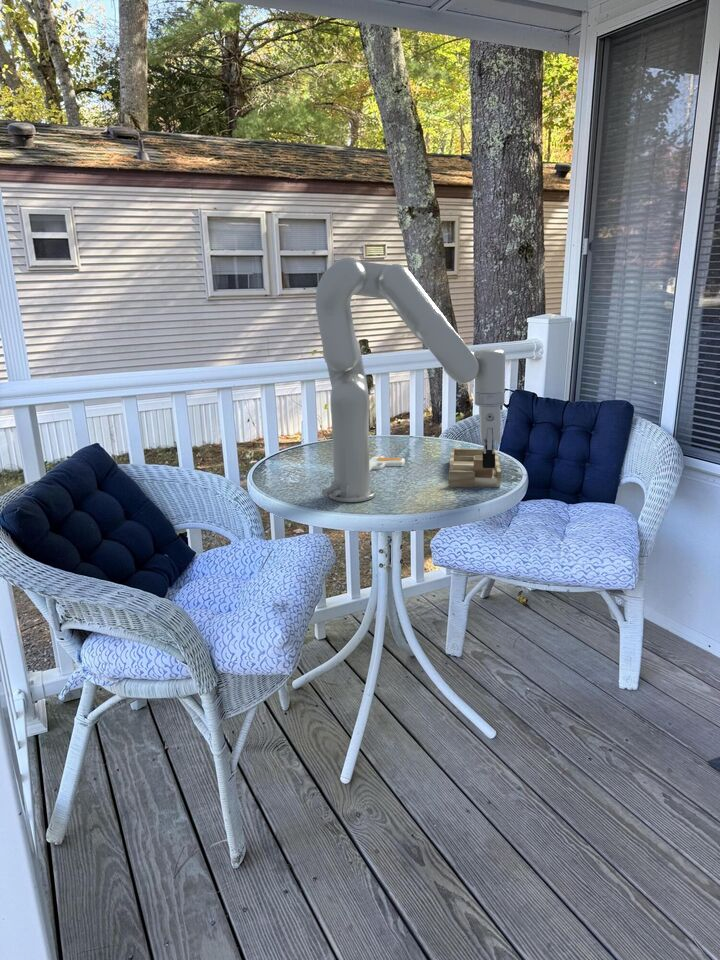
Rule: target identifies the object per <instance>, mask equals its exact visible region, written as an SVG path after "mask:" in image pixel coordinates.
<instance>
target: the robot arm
mask: <svg viewBox="0 0 720 960" xmlns="http://www.w3.org/2000/svg"><path fill="white" fill-rule="evenodd" d="M353 296H361V297H368V298H376V299H384V300H386V301H387V302H388V304H389V305H390V307H392V309H393V310H394V311H395V313H396V314H397V316H399V318H400V320H402V322H404V324H405V325H406V326H407V328H408V329H409V330H410V331H411V333H412V334H413V335H414V336H415V338H417V340H419V341H420V342H421V343H422V344H424V346H425V347H426V348H427V349H428V351H430V352H431V354H432V355H433V356H434V357H435V358H436V360H437V361H438V362H439V364H440V365H441V366H442V367H443V369H444V372H445V374H447V376H448V377H450V379H452V380H453V381H454V382H456V383H458V384H468V383H470V382H472V381H473V380H474V405H475V406H477V407H479V409H478V411H479V413H478V415H479V434H480V441H481V444H483V449H484V452H483V468H495V452H494V450H496V449H495V443H496V444H497V445H500V444H501V442H502V441H501V437H502V436H501V429H502V427H501V425H502V424H501V423H502V416H501V409H502V408H501V406H503V405H505V402H506V399H505V397H506V396H505V394H506V393H505V391H506V390H505V389H506V352H505V351H504V350H503V349H501V348H484V349H477V350H475V349H470V347H469V346H468V344H466V343H465V341H464V340H463V338H461V336H460V335H459V334H458V333H457V331H456V330H455V329H454V327H453V326H452V325H451V323H449V321H448V319H447V318H446V317H445V315H444V314H443V312H442V311H441V310H440V309H439V307H438V306H437V305H436V303H435V302H434V301H433V300H432V299H431V297H430V296H429V295H428V293H427V292H426V291H425V289H424V288H423V287H422V285H421V284H420V283H419V282H418V280H417V279H416V278H415V276H414V275H413V274H412V272H411V270H409V269H408V268H407V267H406V266H405V265H402V264H400V263H398V264H397V263H394V264H386V263H377V262H369V261H363V260H358V259H356V258H354V257H351V256H350V257H349V256H348V257H343V258H342V257H341V258H340V259H338V260H337V261H335V262H334V263H333V264H332V265H331V266H330V267H328V269H327V270H326V271H325V272H324V273H323V275H322V276H321V278H320V280H319V282H318V284H317V287H316V291H315V301H314V302H315V312H316V316H317V322H318V329H319V334H320V339H321V344H322V355H323V359H324V362H325V363H326V366H327V371H328V376H329V377H328V378H329V379H330V381H329V382H330V385H331V392H330V413H331V414H330V415H331V435H332V436H331V437H332V438H331V439H332V457H333V459H332V460H333V462H332V465H333V480H332V481H331V484H330V485H329V487H325V488H322V490H321V495H322V496H324V497H327V496H328V497H329V498H330V499H331V500H334V501H336V502H340V503H341V502H342V503H359V502H360V503H361V502H365V501H369V500H372V499H373V498H375V496H376V494H377V492H376V489H375V488H374V487H372V486H371V483H370V479H371V478H370V475H371V474H370V472H371V471H370V468H369V460H370V432H369V431H370V425H369V423H370V422H369V421H370V419H369V416H370V415H369V413H370V411H369V410H370V397H369V396H370V395H369V389H368V383H367V377H366V372H365V368H364V363H363V357H362V352H361V346H360V342H359V341H358V339H357V336H356V332H355V327H354V323H353V321H354V319H353V315H352V309H351V308H352V307H351V300H352V297H353Z"/></svg>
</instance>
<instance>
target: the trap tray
mask: <svg viewBox="0 0 720 960" xmlns="http://www.w3.org/2000/svg"><path fill="white" fill-rule="evenodd" d="M483 452H484V448H483V449H481V448H451V449H450V459H449V470H448V488H449V487H450V488H453V487H454V488H455V487H456V488H475V487H489V488H490V487H491V488H501V476H502V470H501V464H500V459H499V453H498V449H495V450H494V452H495V468H493V474H492V478H478V477H475V471H473V470H474V455H483Z"/></svg>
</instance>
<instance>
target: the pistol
mask: <svg viewBox="0 0 720 960" xmlns="http://www.w3.org/2000/svg"><path fill="white" fill-rule="evenodd" d="M405 463H406V459H405V458H403V457H385V456H384V455H381V456H372V457H371V458H369V468H370V472H371V471H374V470H377V471H379V470H382V469H384V468H391V467H392V468H393V467H395V468H396V467H398V468H399V466H402V467H403V466H405Z"/></svg>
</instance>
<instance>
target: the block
mask: <svg viewBox="0 0 720 960" xmlns="http://www.w3.org/2000/svg"><path fill="white" fill-rule="evenodd" d="M473 471H475V477H478V478H492V474H493V468H483V455H475V458H474V470H473Z"/></svg>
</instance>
